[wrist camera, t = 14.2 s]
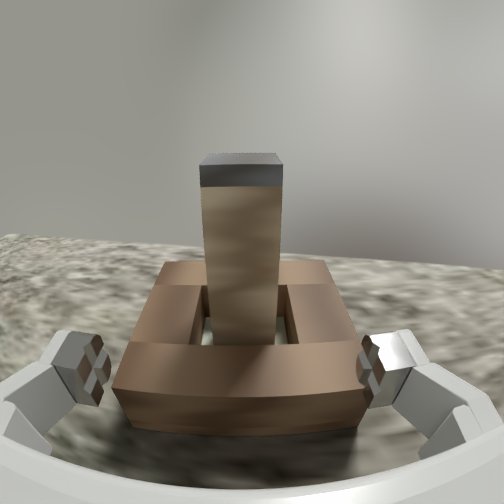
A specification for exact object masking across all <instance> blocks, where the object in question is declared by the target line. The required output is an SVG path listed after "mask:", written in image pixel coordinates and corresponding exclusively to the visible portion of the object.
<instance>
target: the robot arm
mask: <svg viewBox="0 0 504 504" xmlns="http://www.w3.org/2000/svg"><path fill="white" fill-rule="evenodd" d="M103 344H104V343H103V341H102V339H101V336H99V335H97V334H89V333H82V332H75V331H67V330H59V331H57V332H56V334H55V335H54V337H53V338H52V340H51V341H50V343H49V345H48V346H47V348H46V349H45V351H44V353H43V354H42V356H41V357H40V359H39V361H38V362H35V361H34V362H33V363H31V364H29V365H28V366H26V367H25V368H23V369H21V370H20V371H18V372H17V373H15V374H13V375H12V376H10V377H9V378H7V379H5V380H4V381H2V382H1V383H0V504H504V424H503V422H502V420H501V418H500V416H499V414H498V413H497V411H496V409H495V407H494V406H493V404H492V402H491V400H490V399H489V397H488V395H487V394H485V393H484V392H482V391H480V390H479V389H477V388H475V387H474V386H472V385H470V384H469V383H467V382H465V381H464V380H462V379H461V378H459V377H457V376H456V375H454V374H452V373H451V372H449V371H447V370H446V369H444V368H442V367H441V366H439V365H437V364H436V363H430V361H429V360H428V358H427V356H426V355H425V353H424V351H423V350H422V348H421V346H420V345H419V343H418V342H417V340H416V338H415V337H414V335H413V333H412V332H411V331H410V330H409V329H405V330H398V331H394V332H393V331H391V332H383V333H375V334H366V335H365V336H364V338H363V340H362V343H361V345H362V347H363V350H362V351H361V352H360V353H359V354H358V356H357V360H356V375H357V378H358V381H359V383H361V384H362V385H363V386H365V388H364V390H363V396H364V399H365V401H366V404H367V407H368V409H371V408H377V407H383V406H389V405H392V407H393V408H394V409H396V410H397V411H398V412H399V413H400V414H401V415H402V416H403V417H404V418H406V419H407V420H408V421H409V422H410V423H411V424H412V425H413V426H414V427H416V428H417V429H418V430H419V431H420V432H421V433H422V434H423V435H425V436H426V437H427V438H428V441H427V442H426V443H425V444H424V445H423V446H422V447H421V448H420V450H419V452H418V454H419V457H420V459H421V460H420V461H417V462H414V463H411V464H408V465H404V466H401V467H398V468H394V469H390V470H387V471H383V472H379V473H375V474H371V475H367V476H362V477H357V478H353V479H347V480H342V481H336V482H330V483H324V484H317V485H309V486H300V487H289V488H276V489H250V490H231V489H206V488H192V487H182V486H173V485H165V484H158V483H151V482H145V481H140V480H134V479H129V478H124V477H120V476H115V475H111V474H107V473H103V472H99V471H95V470H92V469H88V468H85V467H81V466H78V465H75V464H72V463H69V462H66V461H63V460H60V459H57V458H54V457H51V456H50V454H51V451H52V447H51V445H50V444H49V443H48V442H47V441H46V440H45V439H44V438H43V435H44V434H45V433H46V432H48V431H49V430H50V429H51V428H52V427H53V426H54V425H55V424H56V423H57V422H58V421H59V420H60V419H61V418H63V417H64V416H65V415H66V414H67V413H68V412H69V411H70V410H71V409H72V408H73V407H74V406H75V405H77V404H76V403H79V404H84V405H89V406H95V407H98V406H99V403H100V401H101V398H102V395H103V393H104V390H103V387H102V385H103V384H105V383H106V382H107V381H108V380H109V377H110V374H111V362H110V358H109V356H108V354H107V353H106V352H105V351H104V350H103V349H102V347H103Z"/></svg>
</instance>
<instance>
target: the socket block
mask: <svg viewBox="0 0 504 504" xmlns="http://www.w3.org/2000/svg"><path fill="white" fill-rule="evenodd" d="M362 350H363V347H362V345H361V342H360V340H359V338H358V335H357V333H356V330H355V328H354V326H353V323H352V321H351V319H350V317H349V314H348V312H347V310H346V307H345V305H344V303H343V301H342V298H341V296H340V294H339V292H338V290H337V287H336V285H335V283H334V281H333V279H332V276H331V274H330V272H329V270H328V268H327V266H326V264H325V262H324V260H316V261H279V280H278V298H277V315H276V331H275V345H213V336H212V327H211V317H210V307H209V297H208V286H207V275H206V263H205V262H165V263H164V265H163V267H162V269H161V271H160V273H159V275H158V278H157V280H156V282H155V284H154V286H153V288H152V291H151V293H150V295H149V297H148V299H147V302H146V304H145V306H144V308H143V311H142V313H141V315H140V317H139V320H138V322H137V324H136V327H135V329H134V331H133V334H132V336H131V339H130V341H129V343H128V346H127V348H126V351H125V353H124V356H123V358H122V361H121V363H120V366H119V368H118V371H117V373H116V376H115V379H114V381H113V384H112V387H111V388H112V390H113V392H114V394H115V396H116V398H117V399H118V401H119V403H120V405H121V407H122V409H123V410H124V412H125V414H126V416H127V417H128V419H129V421H130V423H131V424H132V426H133V428H139V429H146V430H154V431H162V432H171V433H182V434H195V435H214V436H269V435H288V434H301V433H312V432H321V431H330V430H337V429H344V428H351V427H357V426H358V425H359V423H360V421H361V420H362V418H363V416H364V414H365V412H366V410H367V408H368V407H367V404H366V401H365V399H364V396H363V390H364V388H365V386H363V385H362V384H361V383H359V381H358V378H357V375H356V360H357V356H358V354H359V353H360V352H361V351H362Z"/></svg>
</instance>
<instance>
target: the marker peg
mask: <svg viewBox="0 0 504 504" xmlns="http://www.w3.org/2000/svg"><path fill="white" fill-rule="evenodd" d="M199 166H200V167H199V169H200V188H201V207H202V223H203V237H204V251H205V263H206V275H207V286H208V297H209V307H210V317H211V327H212V336H213V345H275V331H276V315H277V298H278V280H279V260H280V238H281V237H280V236H281V213H282V182H283V181H282V180H283V164H282V162H281V161H280V159H279V158H278V156H277V155H276V153H220V154H219V153H218V154H209V155H208V156H207V157H206V158H205V159H204V160H203V162H202V163H201V164H200V165H199Z"/></svg>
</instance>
